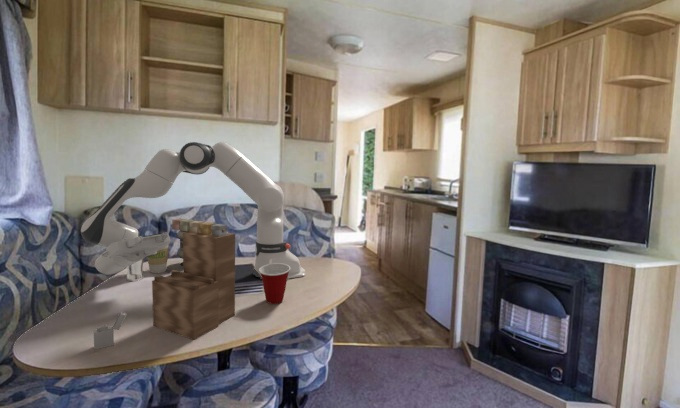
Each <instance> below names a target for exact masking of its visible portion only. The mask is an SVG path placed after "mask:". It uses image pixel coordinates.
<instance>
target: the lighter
mask: <svg viewBox="0 0 680 408" xmlns="http://www.w3.org/2000/svg"><path fill="white" fill-rule="evenodd" d="M126 317H127V312H125V311H120V312H119V314H118V315H117V318H116V319H115V321H114V323H113V325H112V326H109V325H108V324H104V325H99V326H98V327H97V328H96V329H94V330H93V347H94V350H98V349H102V348H107V347H110V346H111V347H113V346H114V345H115V343H114V341H115V340H114V339H115V337H114V336H115V335H114V330H117V331H119V330H120V329H121V327H122V324H123V323H124V320H125V319H126Z"/></svg>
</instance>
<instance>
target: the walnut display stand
mask: <svg viewBox="0 0 680 408" xmlns="http://www.w3.org/2000/svg"><path fill="white" fill-rule="evenodd" d="M182 262H183V267H182V268H183V269H182V270H183V271H179V270H175V269H173V270H171V271H170V274H169V275H166V276H162V275H158V274H157V275H153V276H154V277H153V280H151V282H152V283H151V287H152V289H151V290H152V296H151V297H152V326H153V328H158V329H161V330H162V331H163V330H164V331H166V332H170V333H173V334H176V335H178V336H180V337H181V336H182V337H185V338H187V339H191V340H192V341H193V340H196V339H198V338H200V337H202V336H203V335H205V334H207V333H209V332H210V331H211V332H212V330H214V329H216V328H218V327H219V325H220V324H222V323H223V322H225V321H227V320H229V319H231V318H233V317H235V316H236V315H235V313H236V310H235V309H236V233H232V232H227V235H224V236H220V237H219V236H213V235H212V234H209V235H207V234H201V232H199V233H194V232H186V233H183V259H182Z"/></svg>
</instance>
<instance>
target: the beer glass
mask: <svg viewBox="0 0 680 408" xmlns="http://www.w3.org/2000/svg"><path fill="white" fill-rule="evenodd" d="M144 260H145V258H143V259H142V260H140V261H138V262H136V263H134V264H132V265H130V266H128V267H126V278H125V280H126V281H127V282H137V281H138V280H139V281H141V280H144V278H145V276H144V272H143V271H144V270H143V268H144V267H143V265H144ZM139 281H138V282H139Z"/></svg>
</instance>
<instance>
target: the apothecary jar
mask: <svg viewBox="0 0 680 408" xmlns="http://www.w3.org/2000/svg"><path fill="white" fill-rule="evenodd" d="M186 232H190V231H182V230H178V232H177V233H176V238H177V239H179V248H178V250H177V253H176V255H177V256H178V257H179V258H180V259H182V260H183V233H186ZM179 265H180V267H182V268H183V261H182V262H181V263H180V264H179Z"/></svg>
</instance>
